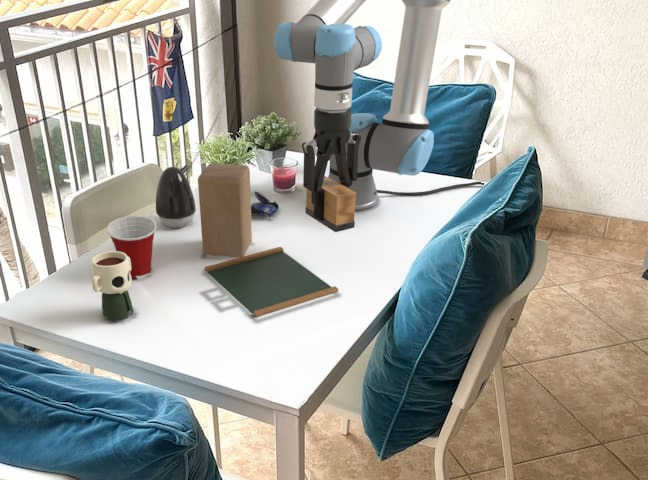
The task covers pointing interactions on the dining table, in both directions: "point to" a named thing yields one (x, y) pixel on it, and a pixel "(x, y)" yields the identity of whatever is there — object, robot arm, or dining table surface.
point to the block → (225, 209)
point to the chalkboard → (269, 281)
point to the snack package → (263, 206)
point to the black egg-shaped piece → (175, 198)
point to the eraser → (335, 206)
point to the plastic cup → (134, 241)
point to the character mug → (113, 283)
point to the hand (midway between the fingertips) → (329, 215)
